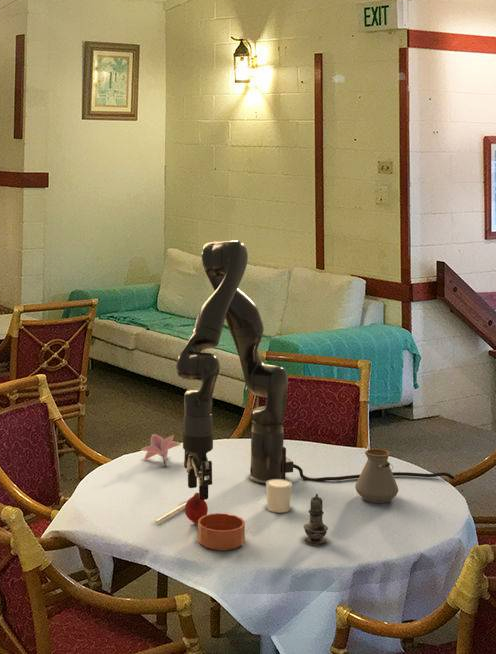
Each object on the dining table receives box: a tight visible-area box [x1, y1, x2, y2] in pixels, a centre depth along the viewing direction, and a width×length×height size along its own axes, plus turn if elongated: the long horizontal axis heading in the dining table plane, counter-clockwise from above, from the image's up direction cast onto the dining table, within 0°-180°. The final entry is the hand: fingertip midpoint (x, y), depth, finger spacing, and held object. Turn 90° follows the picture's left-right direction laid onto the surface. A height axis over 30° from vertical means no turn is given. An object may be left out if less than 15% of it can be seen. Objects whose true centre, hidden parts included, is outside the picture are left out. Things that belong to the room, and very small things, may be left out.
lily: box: [140, 433, 182, 467], centre depth 289 cm, size 12×12×10 cm
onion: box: [184, 491, 209, 525], centre depth 243 cm, size 6×6×8 cm
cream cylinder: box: [265, 479, 293, 514], centre depth 253 cm, size 7×7×7 cm
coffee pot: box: [354, 448, 399, 504], centre depth 256 cm, size 21×12×15 cm, turn 177°
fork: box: [155, 501, 187, 524], centre depth 251 cm, size 3×20×2 cm, turn 145°
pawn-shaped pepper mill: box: [303, 493, 329, 547], centre depth 232 cm, size 6×6×12 cm
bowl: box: [197, 512, 246, 551], centre depth 232 cm, size 11×11×5 cm
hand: (197, 493), depth 242 cm, fingers open, 8 cm apart
